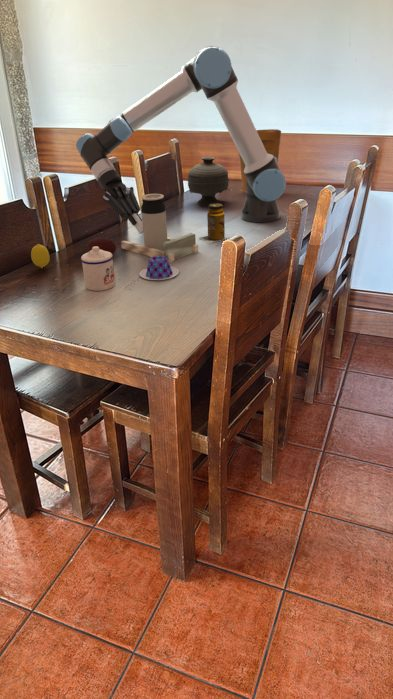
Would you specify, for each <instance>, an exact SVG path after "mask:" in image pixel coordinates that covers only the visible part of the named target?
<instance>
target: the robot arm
mask: <svg viewBox="0 0 393 699" xmlns="http://www.w3.org/2000/svg"><path fill="white" fill-rule="evenodd" d="M238 82H239V80H238V77H237V75H236V73H235V71H234V69H233V66H232V61H231V58H230V56H229V55H228V53H227V52H226V51H225V50H224V49H223V48H221V47H219V46H216V45H215V46H214V45H210V46H205V47H204V48H202V49H200V50H199V51H198V52H197V53H196V54H195V55H194V56H193V57H192V58H191V59H190V60H189V61H188V62H187V63H185V64H184V65H183V66H181V70H180V71H179V72H177V73H176V74H175V75H174V76H172V77H171V78H169V79H167V81H165V82H164V83H162V84H161V85H158V87H156V88H155V89H154V90H153V91H151V92H149V93H148V94H146V96H143V98H141V99H140V100H138V101H137V102H135V103H134V104H132V105H131V106H129V107H128V108H127V109H125V110H124V111H122V112H121V113H120V114H118V115H117V116H115V117H113V118H112V119H110V120H109V121H108V123H107V124H106V125H105V126H104V127H103V128H101V129H100V130H99V132H98V133H96V134H95V135H93V133H85V134H84V135H81V136H80V137H78V138H77V140H76V142H75V147H76V150H77V152H78V153H79V155H80V157H81V158H82V160H83V161H84V163H85V164H86V166H87V167H88V168H89V170H90V172H91V174H92V175H93V176H94V179H95V180H96V181H97V182H98V184H99V185H100V188H101V189H102V190H103V191H104V194H103V196H102V198H101V199H102V200H103V201H105V202H106V203H108V205H109V206H110V207H111V208H112V209H113V210H114V212H116V213H117V214H118V215H119V216H120V218H121V219H125V220H126V221H129V222H130V224H131V225H132V226H134V228H135V229H136V231H137V233H138V234H139V235H143V222H142V217H140V215H139V213H140V212H141V207H140V204H139V202H138V199H137V197H136V195H135V191H134V190H135V189H134V187H133V186H131V187H127V185H126V184H124V182H123V181H122V176H121V175H120V174H119V172H118V171H117V170H116V168H115V166H114V165H113V163H112V162H111V160H110V159H109V158H108V155H110V154H111V153H113V151H115V149H117V148H118V147H119V146H120V145H122V144H124V142H125V141H128V139H129V138H130V137H131V136H132V134H133V133H134V132H136V131H137V130H139V129H141V127H143V126H144V125H146V124H148V123H149V122H150V121H152V120H153V119H154V118H156V117H157V116H159V115H161V114H162V113H163V112H165V111H167V110H168V109H169V108H171V107H172V106H174V105H175V104H176V103H178V102H180V101H181V100H182V99H184V98H185V97H187V96H189V95H190V94H191V93H199V92H200V91H201V90H202V91H203V93H204V95H205V97H206V99H207V100H209V101H211V102H213V103H214V105H215V108H216V109H217V111H218V114H219V115H220V117H221V119H222V121H223V122H224V125H225V127H226V129H227V131H228V133H229V135H230V138H231V140H232V142H233V144H234V145H235V147H236V149H237V151H238V154H239V153H240V155H241V157H242V160H243V162H244V164H245V169H244V173H245V175H246V193H245V201H244V203H243V207H242V209H241V219H242V220H244V221H247V222H252V223H268V222H275V221H277V220H279V219H280V216H281V213H280V211H281V210H280V207H279V203H278V201H277V200H278V199H279V198H280V197H281V196H282V195H283V194H284V192H285V189H286V185H287V183H286V182H287V180H286V176H285V174H284V173H283V172H282V171H281V169H280V167H279V162H278V163H277V158H276V157H274V156H273V155H271V154H268V153H267V152H266V150H265V148H264V145H263V143H262V141H261V139H260V137H259V135H258V133H257V131H256V130H257V128H256V127H255V125H254V122H253V120H252V118H251V115H250V114H249V112H248V109H247V108H246V104H245V102H244V101H243V99H242V96H241V95H240V93H239V91H238V89H237V88H238V87H237V86H238Z"/></svg>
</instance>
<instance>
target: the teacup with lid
mask: <svg viewBox="0 0 393 699" xmlns="http://www.w3.org/2000/svg"><path fill="white" fill-rule="evenodd" d="M113 258H114V255H113V254H111V253H110V252H108V251H103V250H101V249H99V247H97V246H95V247H93V248H92V250H91V251H89V250H88V252H86V253H84V254H82V256H81V257H80V261H81V266H82V270H83V276H84V278H83V279H84V285H85V288H86V289H87V290H89V291H93V292H97V291H98V292H100V291H101V292H102V291H107V290H110V289H111V288H114V286H115V285H116V279H115V278H116V277H115V271H114V268H115V267H114V262H113Z"/></svg>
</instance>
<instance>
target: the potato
mask: <svg viewBox="0 0 393 699" xmlns="http://www.w3.org/2000/svg"><path fill="white" fill-rule="evenodd" d="M95 246H97V247H99V249H101V250H103V251H108V252H110V253H111V254H112V255H113V254H114V253H115V252H116V251H117V245H116V244H115V242H114V241H113V240H112V239H109V238H107V237H101V236H100V237H94V238H92V239H90V240H89V241H88V242H87V249H88V252H89V251H91V250H92V248H93V247H95Z"/></svg>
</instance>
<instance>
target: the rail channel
mask: <svg viewBox="0 0 393 699" xmlns="http://www.w3.org/2000/svg"><path fill="white" fill-rule="evenodd" d="M167 240H168V241H167V242H164V243H163V247H164V251H161V250H158V249H154V248H150V247H147V246H145V245H144V244H138V243H135V242H131V241H127V240H121V241H120V244H121V249H123V250H126V251H129V252H133V253H136V254H140V255H143V256H147V257H150V258H151V257H154V256H164V257H167V259H168V260H169V264H170V263H173V262H175V260H178V259H180V258H182V257H185V256H187V255H190V254H197V253H199V244H197V243H196V233H193V232H190V233H187V234H184V235H180V236H179V237H176V238H172V237H169V236H167Z"/></svg>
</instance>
